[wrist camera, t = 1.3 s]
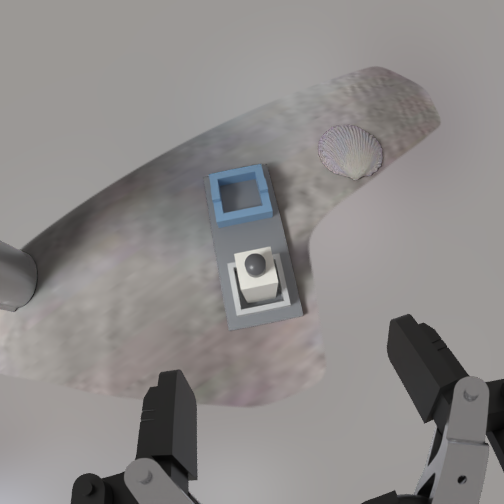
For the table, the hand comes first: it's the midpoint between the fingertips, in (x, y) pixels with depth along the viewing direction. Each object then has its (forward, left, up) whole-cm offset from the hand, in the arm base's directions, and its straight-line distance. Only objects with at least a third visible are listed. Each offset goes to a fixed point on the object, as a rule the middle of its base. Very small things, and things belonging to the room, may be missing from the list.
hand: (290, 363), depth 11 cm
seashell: (+29, +8, -27) cm, 41 cm away
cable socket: (+8, +11, -27) cm, 30 cm away
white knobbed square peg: (+5, +6, -26) cm, 27 cm away
